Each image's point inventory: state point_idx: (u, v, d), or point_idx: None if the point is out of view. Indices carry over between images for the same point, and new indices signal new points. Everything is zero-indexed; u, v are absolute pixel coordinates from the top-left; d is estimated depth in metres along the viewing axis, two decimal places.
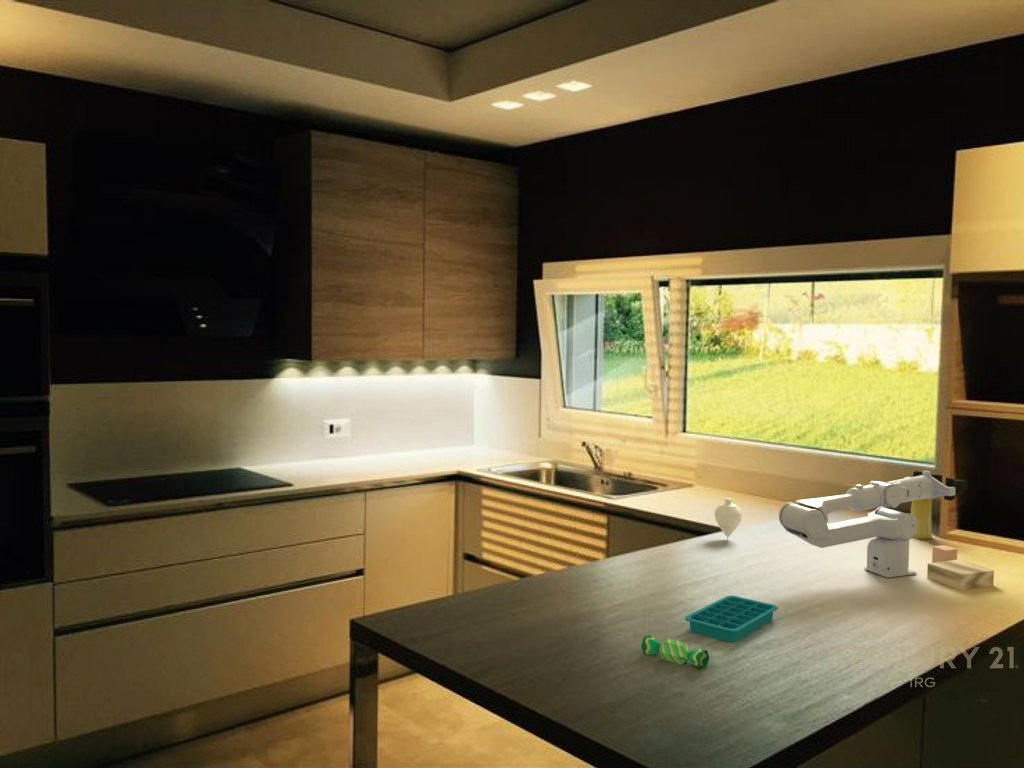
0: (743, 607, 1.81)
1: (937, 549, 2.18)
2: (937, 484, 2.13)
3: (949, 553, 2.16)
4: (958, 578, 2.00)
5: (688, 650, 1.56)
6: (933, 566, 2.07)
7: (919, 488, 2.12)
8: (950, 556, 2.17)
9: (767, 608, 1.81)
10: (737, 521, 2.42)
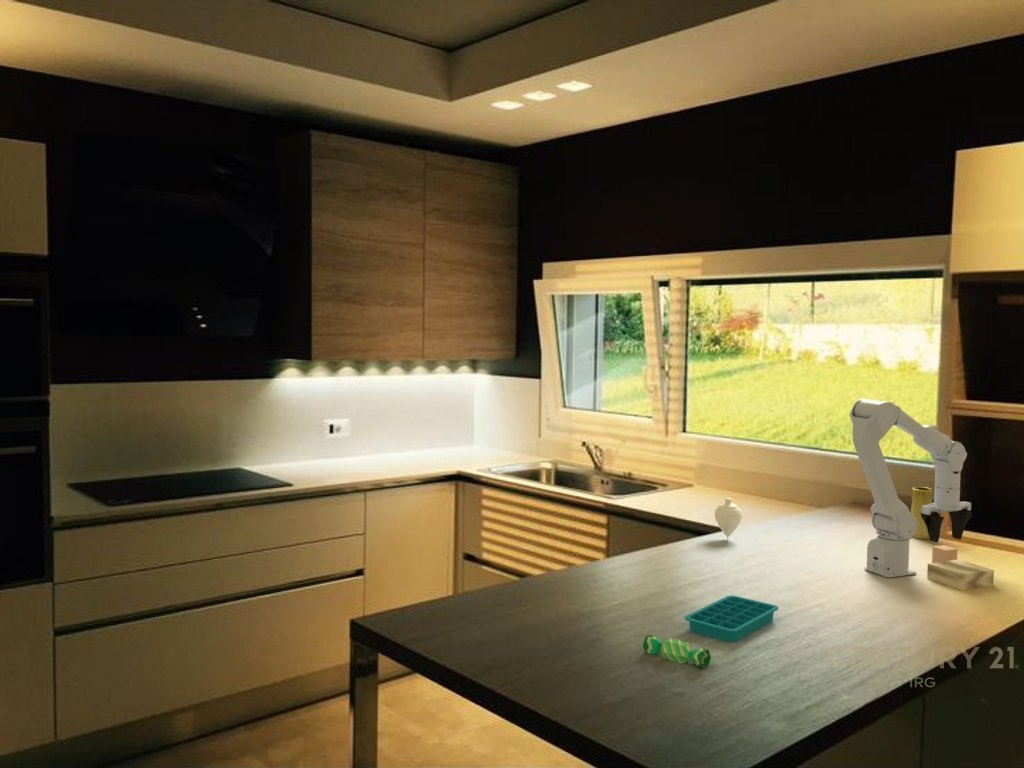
0: (743, 607, 1.81)
1: (937, 549, 2.18)
2: None
3: (949, 553, 2.16)
4: (959, 578, 2.00)
5: (689, 649, 1.56)
6: (933, 566, 2.07)
7: (958, 487, 2.15)
8: (950, 556, 2.17)
9: (767, 608, 1.81)
10: (737, 521, 2.42)
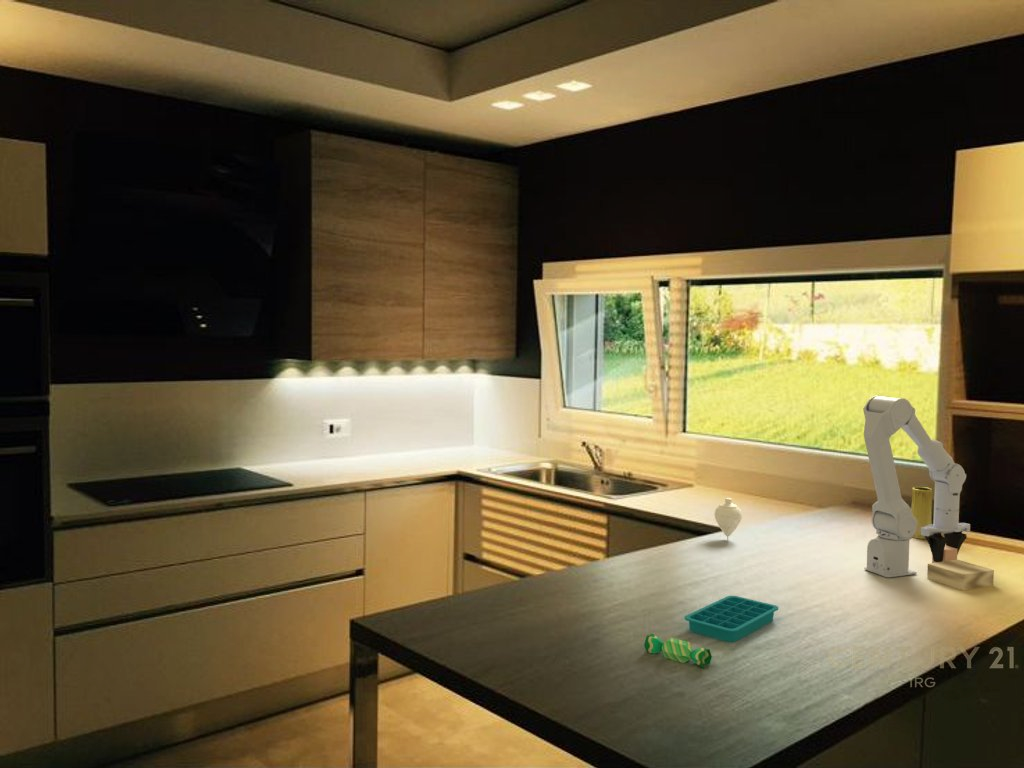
0: (744, 607, 1.81)
1: None
2: None
3: (949, 553, 2.16)
4: (959, 578, 2.00)
5: (690, 649, 1.57)
6: (933, 566, 2.07)
7: (957, 508, 2.15)
8: (950, 555, 2.17)
9: (768, 608, 1.80)
10: (737, 521, 2.42)
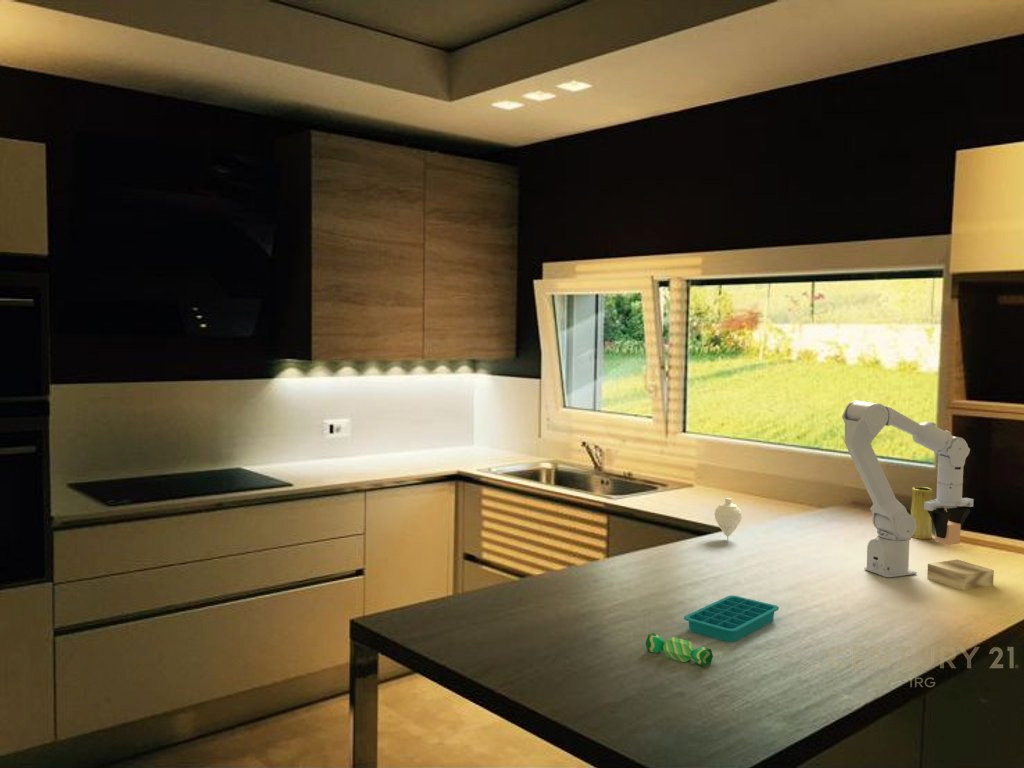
0: (744, 607, 1.81)
1: None
2: None
3: (952, 528, 2.14)
4: (959, 578, 2.00)
5: (692, 648, 1.57)
6: (933, 566, 2.07)
7: (959, 483, 2.13)
8: (953, 531, 2.14)
9: (768, 608, 1.80)
10: (737, 521, 2.42)
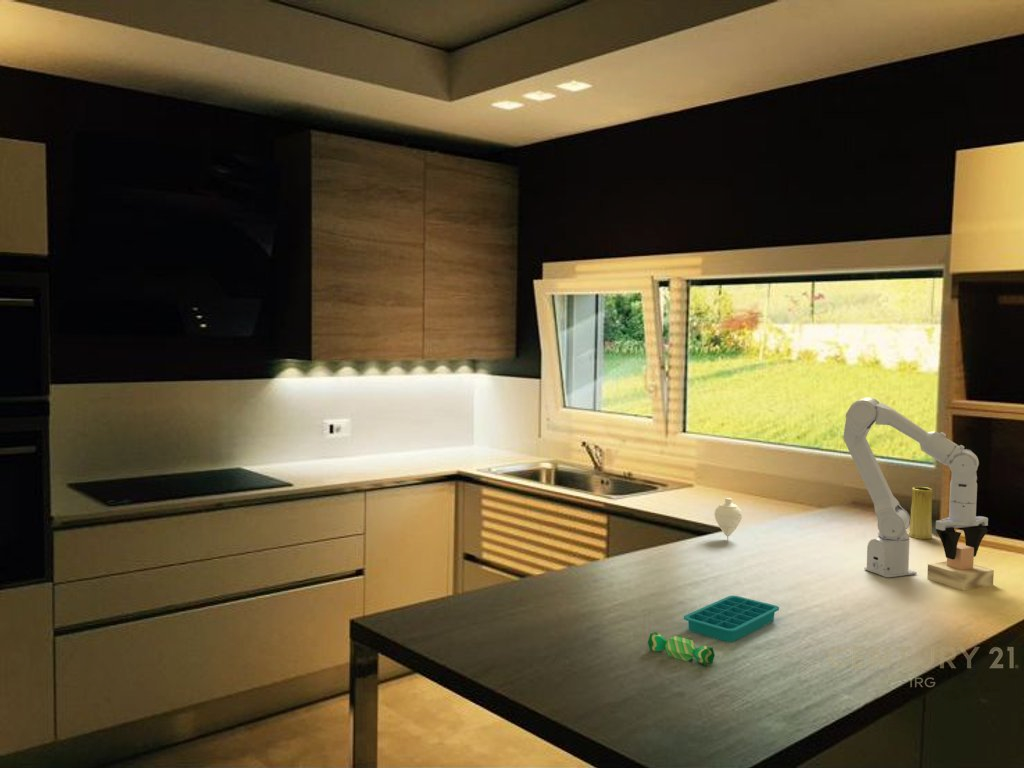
0: (744, 607, 1.81)
1: None
2: None
3: (965, 552, 2.04)
4: (960, 579, 2.00)
5: (694, 647, 1.57)
6: (933, 567, 2.07)
7: (965, 501, 2.02)
8: (966, 555, 2.04)
9: (768, 609, 1.80)
10: (737, 521, 2.42)
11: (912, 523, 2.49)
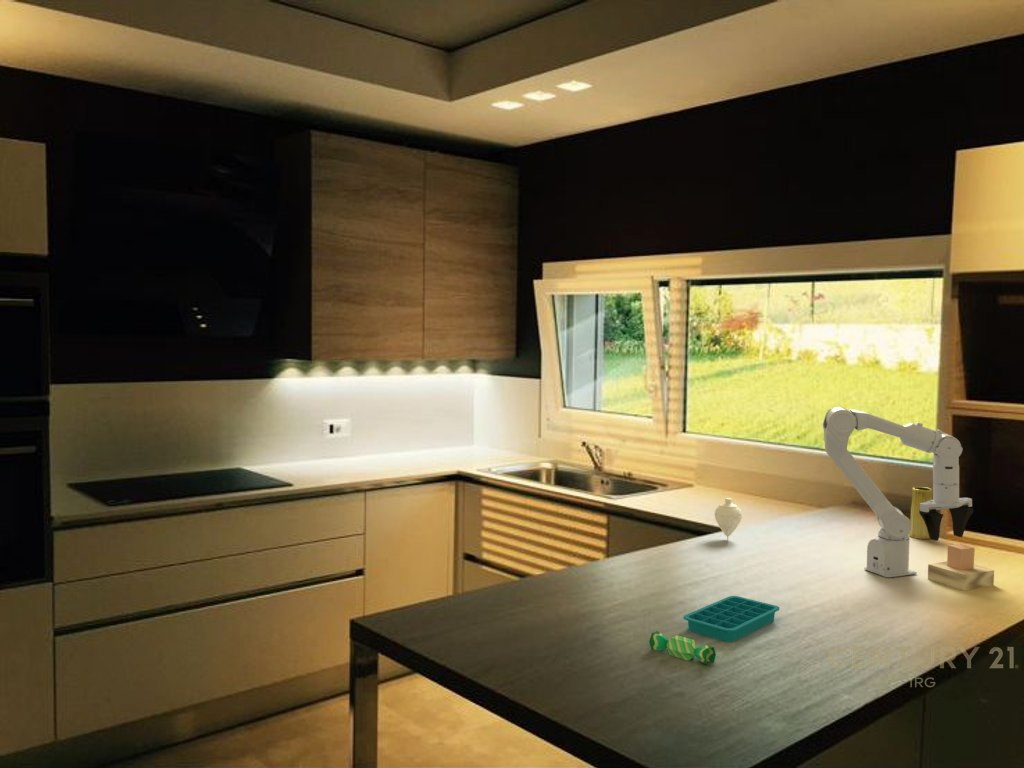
0: (744, 607, 1.81)
1: (953, 547, 2.05)
2: None
3: (965, 553, 2.03)
4: (961, 579, 2.00)
5: (695, 646, 1.58)
6: (934, 567, 2.07)
7: (952, 483, 2.07)
8: (967, 555, 2.04)
9: (769, 609, 1.80)
10: (737, 521, 2.42)
11: (912, 523, 2.49)
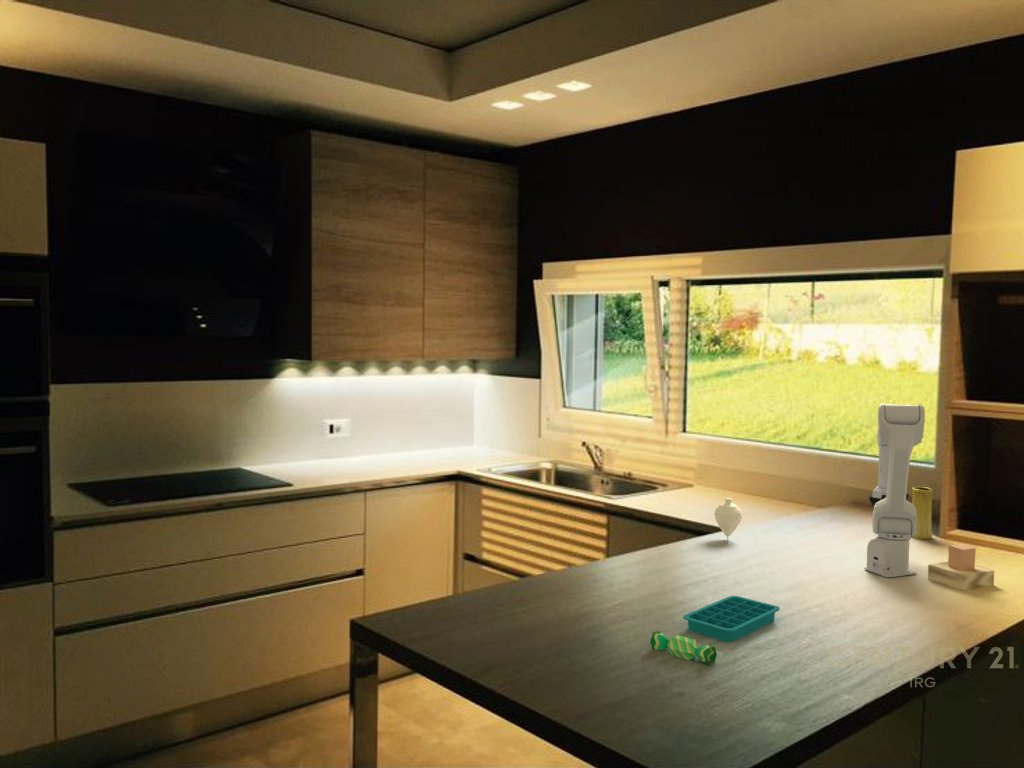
0: (745, 607, 1.81)
1: (954, 548, 2.05)
2: None
3: (966, 553, 2.03)
4: (961, 579, 2.00)
5: (696, 646, 1.58)
6: (934, 567, 2.06)
7: None
8: (968, 555, 2.03)
9: (769, 609, 1.80)
10: (737, 521, 2.42)
11: None
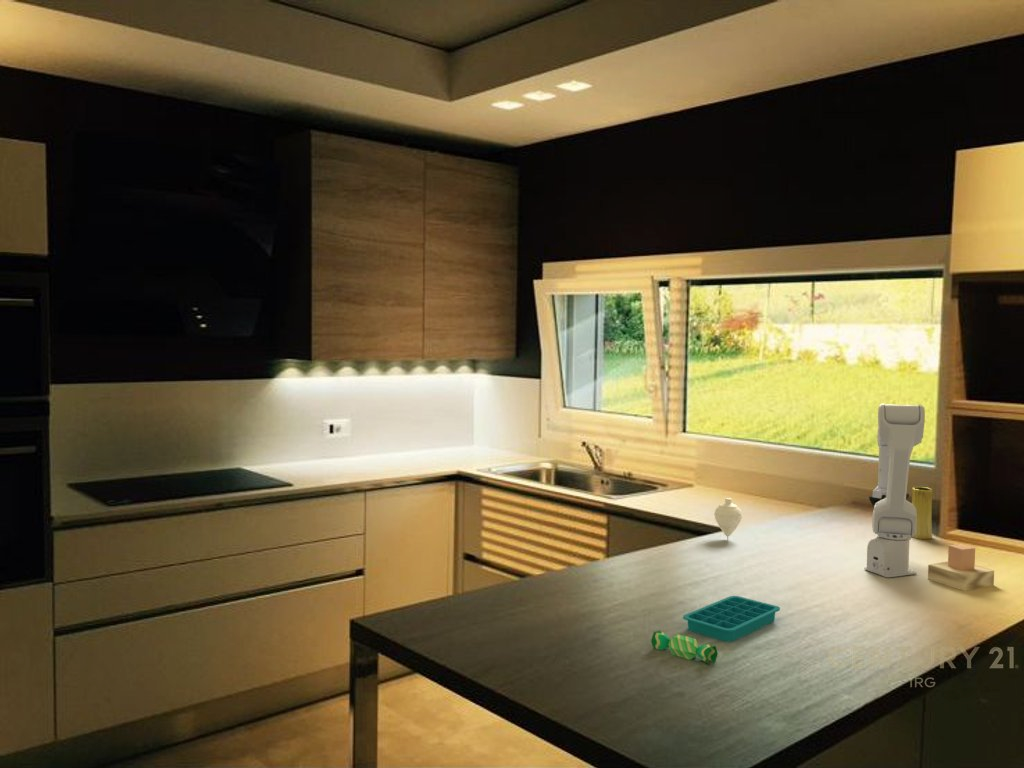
0: (745, 607, 1.81)
1: (954, 548, 2.05)
2: None
3: (966, 553, 2.03)
4: (961, 579, 2.00)
5: (697, 646, 1.58)
6: (934, 567, 2.06)
7: None
8: (967, 555, 2.04)
9: (769, 609, 1.80)
10: (737, 521, 2.42)
11: None
